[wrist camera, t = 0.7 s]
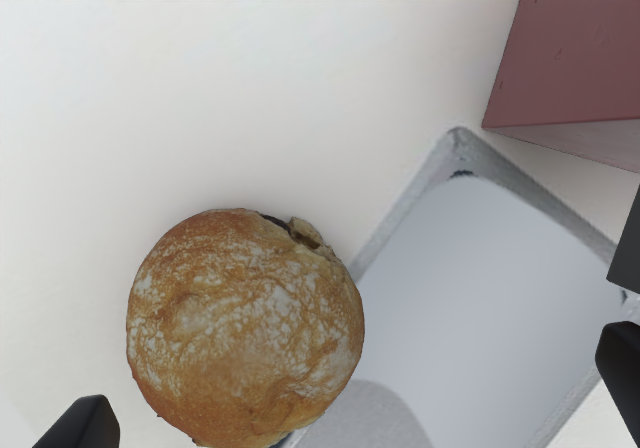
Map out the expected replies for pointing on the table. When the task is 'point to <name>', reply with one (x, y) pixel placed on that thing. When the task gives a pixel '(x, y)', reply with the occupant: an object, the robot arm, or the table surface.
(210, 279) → the bread roll
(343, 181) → the table surface
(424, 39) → the table surface
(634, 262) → the slider
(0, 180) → the table surface
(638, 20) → the toaster
